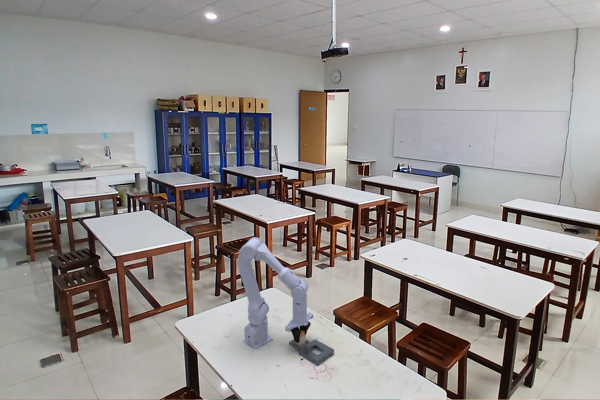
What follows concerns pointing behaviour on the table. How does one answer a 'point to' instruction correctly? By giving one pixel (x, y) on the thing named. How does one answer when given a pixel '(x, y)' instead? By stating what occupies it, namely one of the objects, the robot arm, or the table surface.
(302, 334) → the plug
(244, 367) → the table surface
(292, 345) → the grey mounting plate
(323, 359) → the port block
